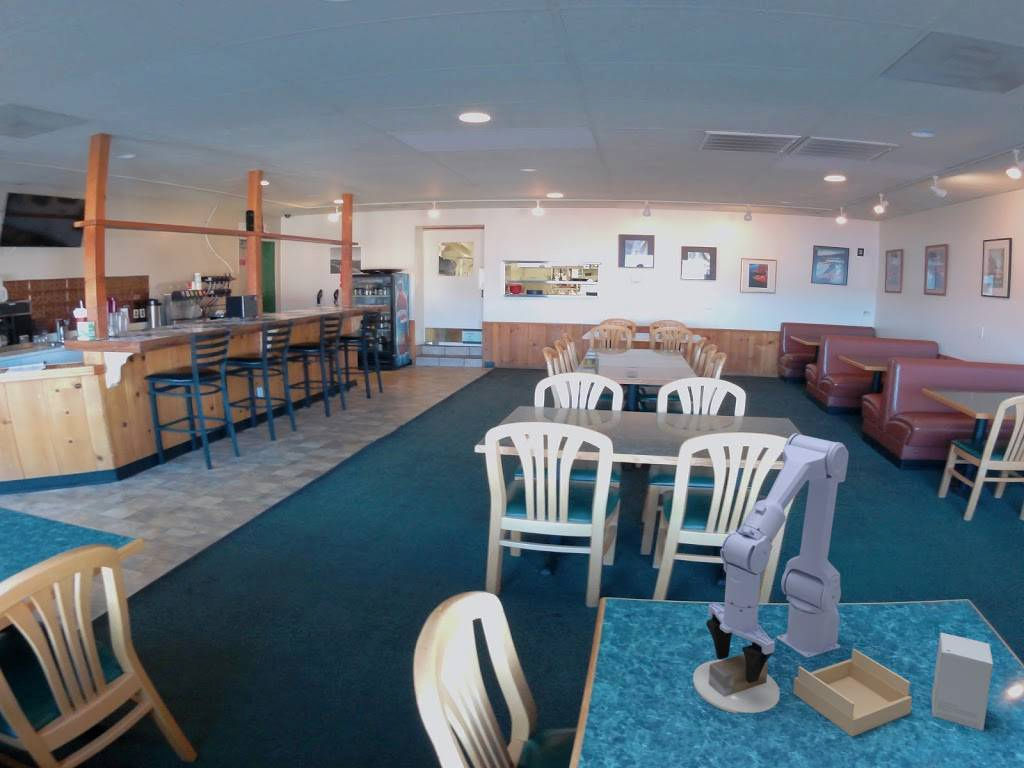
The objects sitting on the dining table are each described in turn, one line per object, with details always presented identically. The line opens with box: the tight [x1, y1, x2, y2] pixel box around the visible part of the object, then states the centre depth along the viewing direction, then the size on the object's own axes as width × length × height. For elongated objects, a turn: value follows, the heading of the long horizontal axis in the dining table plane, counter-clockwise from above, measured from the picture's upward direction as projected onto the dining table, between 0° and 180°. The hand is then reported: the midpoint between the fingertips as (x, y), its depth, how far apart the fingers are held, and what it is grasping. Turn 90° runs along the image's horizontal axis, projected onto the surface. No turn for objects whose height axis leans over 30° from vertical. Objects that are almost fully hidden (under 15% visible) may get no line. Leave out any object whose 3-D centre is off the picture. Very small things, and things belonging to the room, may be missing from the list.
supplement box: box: [931, 632, 994, 731], centre depth 113 cm, size 7×7×13 cm
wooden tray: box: [792, 648, 913, 737], centre depth 116 cm, size 14×12×6 cm
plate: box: [692, 659, 781, 715], centre depth 121 cm, size 15×15×1 cm
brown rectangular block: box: [709, 653, 769, 697], centre depth 121 cm, size 10×4×4 cm, turn 114°
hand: (737, 668), depth 120 cm, fingers open, 7 cm apart
